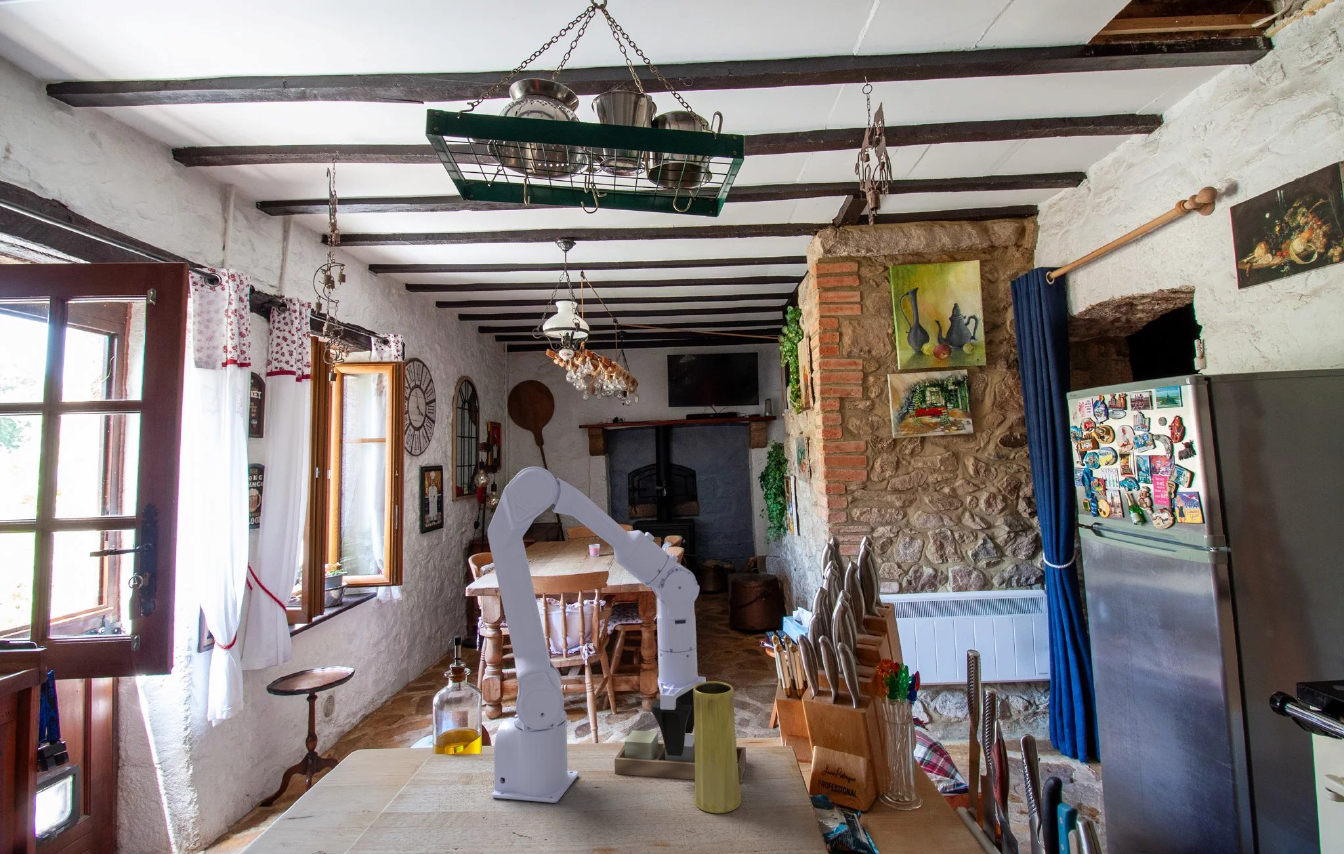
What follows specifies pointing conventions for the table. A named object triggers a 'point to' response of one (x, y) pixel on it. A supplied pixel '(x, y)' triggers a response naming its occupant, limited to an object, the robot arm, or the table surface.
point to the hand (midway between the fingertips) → (680, 742)
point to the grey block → (684, 751)
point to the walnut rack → (658, 758)
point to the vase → (715, 748)
